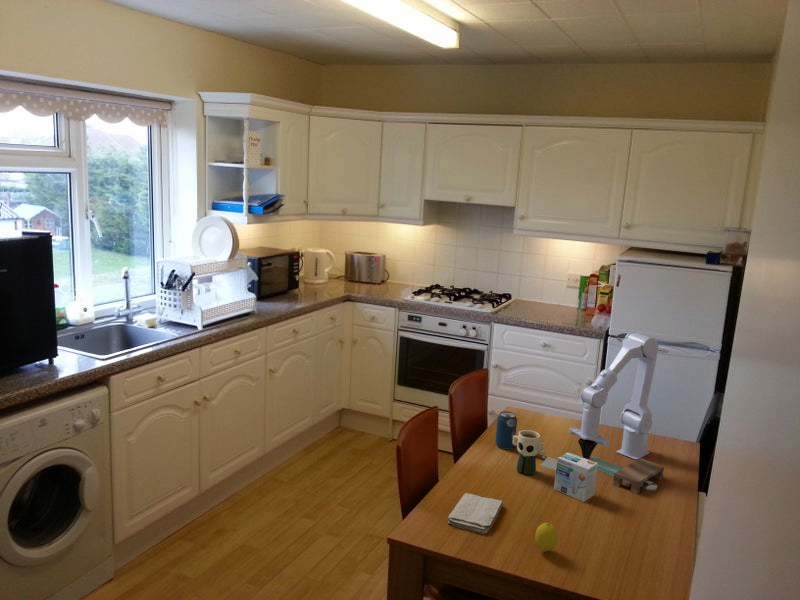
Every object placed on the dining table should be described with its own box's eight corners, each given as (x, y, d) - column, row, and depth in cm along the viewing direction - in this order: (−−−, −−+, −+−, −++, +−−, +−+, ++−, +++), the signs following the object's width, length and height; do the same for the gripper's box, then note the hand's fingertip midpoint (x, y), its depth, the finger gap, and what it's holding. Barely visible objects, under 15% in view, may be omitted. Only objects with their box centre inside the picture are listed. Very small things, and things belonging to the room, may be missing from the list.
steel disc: (644, 482, 213) (645, 479, 213) (659, 488, 209) (660, 485, 209) (637, 487, 209) (637, 483, 209) (652, 493, 206) (652, 489, 206)
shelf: (639, 469, 222) (641, 458, 221) (662, 478, 216) (664, 466, 215) (613, 484, 209) (614, 472, 209) (636, 494, 204) (638, 482, 203)
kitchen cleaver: (512, 457, 224) (524, 446, 233) (512, 460, 225) (524, 449, 233) (581, 479, 211) (591, 467, 219) (581, 482, 212) (591, 470, 220)
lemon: (531, 545, 172) (534, 517, 170) (551, 545, 172) (554, 517, 171) (537, 557, 167) (540, 528, 165) (558, 557, 167) (561, 529, 165)
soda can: (516, 450, 231) (519, 418, 229) (496, 449, 231) (499, 417, 229) (513, 442, 238) (516, 411, 236) (493, 441, 238) (496, 410, 236)
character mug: (506, 470, 215) (509, 433, 212) (514, 463, 221) (517, 426, 218) (538, 480, 210) (542, 441, 207) (545, 472, 216) (549, 434, 213)
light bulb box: (552, 489, 204) (556, 457, 202) (563, 483, 209) (567, 451, 207) (584, 502, 197) (588, 469, 195) (594, 495, 202) (599, 462, 199)
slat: (592, 461, 227) (593, 456, 226) (642, 480, 214) (642, 475, 214) (584, 465, 223) (585, 460, 223) (634, 485, 210) (634, 480, 210)
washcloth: (445, 526, 180) (446, 516, 179) (463, 498, 196) (464, 488, 195) (488, 537, 175) (489, 526, 175) (502, 507, 192) (503, 497, 191)
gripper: (565, 418, 225) (561, 455, 227) (603, 431, 214) (599, 470, 217) (576, 413, 229) (572, 450, 232) (614, 426, 219) (609, 464, 222)
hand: (586, 459), depth 225 cm, fingers closed
